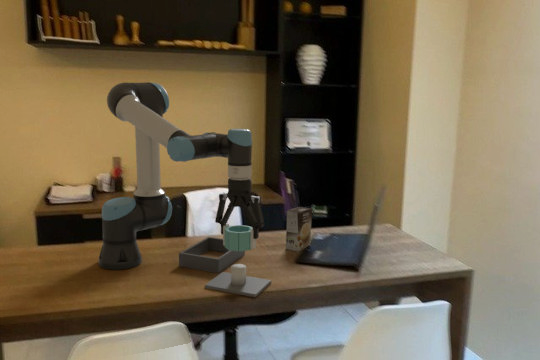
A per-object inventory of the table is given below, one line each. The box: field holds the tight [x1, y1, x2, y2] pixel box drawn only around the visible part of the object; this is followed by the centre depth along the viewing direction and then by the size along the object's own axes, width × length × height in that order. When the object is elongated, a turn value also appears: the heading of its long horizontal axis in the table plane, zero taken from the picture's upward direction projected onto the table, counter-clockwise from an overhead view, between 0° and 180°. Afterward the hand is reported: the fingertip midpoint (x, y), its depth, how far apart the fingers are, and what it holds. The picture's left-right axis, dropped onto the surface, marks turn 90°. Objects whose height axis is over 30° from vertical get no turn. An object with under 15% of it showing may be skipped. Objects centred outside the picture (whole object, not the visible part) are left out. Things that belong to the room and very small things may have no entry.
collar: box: [225, 224, 253, 252], centre depth 172 cm, size 9×9×6 cm
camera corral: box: [178, 236, 246, 274], centre depth 198 cm, size 16×22×5 cm
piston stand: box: [204, 263, 272, 298], centre depth 175 cm, size 18×13×6 cm
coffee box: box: [285, 206, 313, 252], centre depth 214 cm, size 9×6×16 cm
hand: (239, 246), depth 173 cm, fingers closed on collar, 9 cm apart
